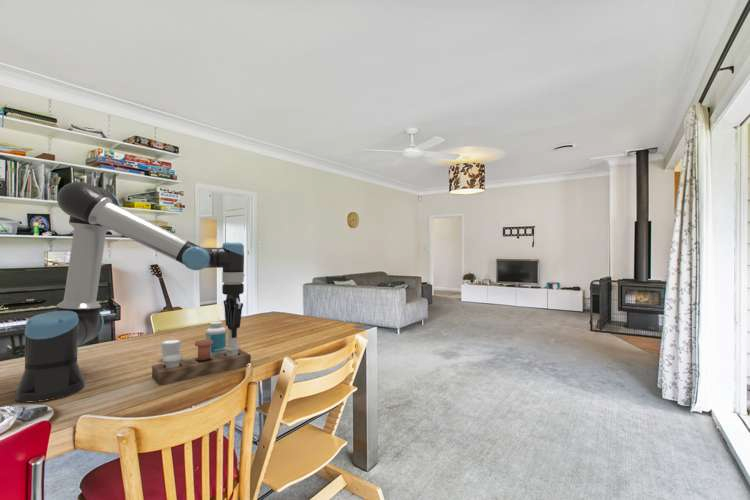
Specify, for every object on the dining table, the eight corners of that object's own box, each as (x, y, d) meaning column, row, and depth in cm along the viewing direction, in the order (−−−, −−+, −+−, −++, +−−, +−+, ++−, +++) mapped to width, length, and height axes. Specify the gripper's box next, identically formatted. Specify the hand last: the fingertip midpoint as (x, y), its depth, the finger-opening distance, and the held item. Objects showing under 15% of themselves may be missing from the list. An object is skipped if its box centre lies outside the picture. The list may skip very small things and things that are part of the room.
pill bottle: (229, 353, 148) (229, 321, 149) (219, 358, 141) (220, 324, 141) (212, 352, 149) (212, 320, 149) (201, 357, 142) (202, 323, 142)
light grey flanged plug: (165, 363, 134) (165, 344, 134) (157, 359, 138) (158, 341, 139) (184, 358, 140) (184, 341, 140) (176, 355, 144) (176, 338, 144)
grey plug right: (226, 366, 129) (227, 349, 129) (220, 362, 133) (221, 346, 133) (243, 362, 133) (243, 346, 133) (236, 359, 137) (236, 343, 137)
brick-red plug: (197, 362, 122) (198, 344, 122) (192, 358, 126) (192, 341, 126) (215, 358, 126) (216, 341, 126) (209, 354, 130) (210, 338, 130)
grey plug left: (164, 379, 115) (165, 361, 115) (160, 374, 119) (160, 357, 119) (184, 375, 119) (185, 357, 119) (179, 370, 123) (180, 353, 123)
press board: (159, 385, 112) (159, 372, 112) (151, 377, 119) (152, 365, 119) (250, 365, 133) (250, 354, 133) (239, 359, 140) (239, 349, 140)
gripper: (250, 284, 131) (249, 347, 131) (236, 281, 140) (235, 340, 140) (229, 285, 126) (229, 351, 126) (216, 282, 135) (216, 344, 135)
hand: (232, 345), depth 133 cm, fingers closed
